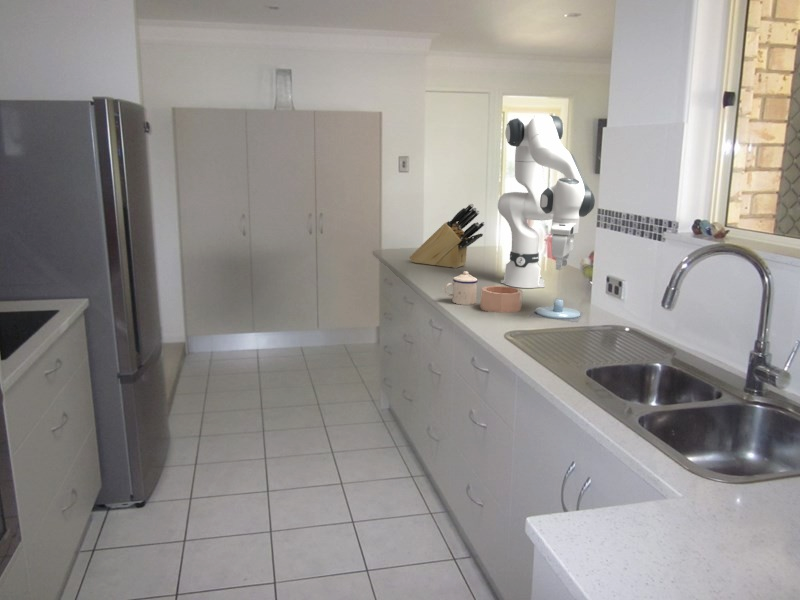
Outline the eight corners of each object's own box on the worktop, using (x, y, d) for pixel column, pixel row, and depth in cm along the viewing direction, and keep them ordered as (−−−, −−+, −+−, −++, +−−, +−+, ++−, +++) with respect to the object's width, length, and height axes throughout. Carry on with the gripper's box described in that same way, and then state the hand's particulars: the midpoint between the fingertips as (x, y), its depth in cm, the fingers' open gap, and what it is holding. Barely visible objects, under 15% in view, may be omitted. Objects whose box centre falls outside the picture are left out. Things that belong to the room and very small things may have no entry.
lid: (540, 307, 235) (541, 293, 234) (582, 312, 229) (584, 298, 228) (531, 315, 221) (532, 301, 220) (575, 321, 215) (577, 306, 214)
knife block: (474, 271, 306) (478, 205, 299) (409, 263, 323) (411, 200, 316) (483, 267, 316) (487, 204, 309) (419, 260, 332) (421, 199, 326)
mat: (539, 308, 235) (539, 306, 235) (584, 313, 229) (584, 312, 229) (529, 317, 221) (529, 315, 221) (576, 323, 215) (577, 322, 215)
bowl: (487, 302, 241) (488, 284, 240) (524, 307, 236) (526, 288, 234) (475, 310, 229) (477, 291, 227) (514, 315, 223) (516, 295, 222)
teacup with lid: (473, 299, 245) (475, 269, 243) (478, 305, 237) (480, 274, 234) (442, 299, 244) (443, 269, 241) (446, 305, 235) (448, 273, 233)
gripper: (561, 223, 229) (558, 262, 232) (549, 229, 211) (546, 271, 214) (579, 225, 226) (576, 264, 229) (569, 230, 208) (565, 272, 211)
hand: (561, 267), depth 221 cm, fingers open, 8 cm apart
